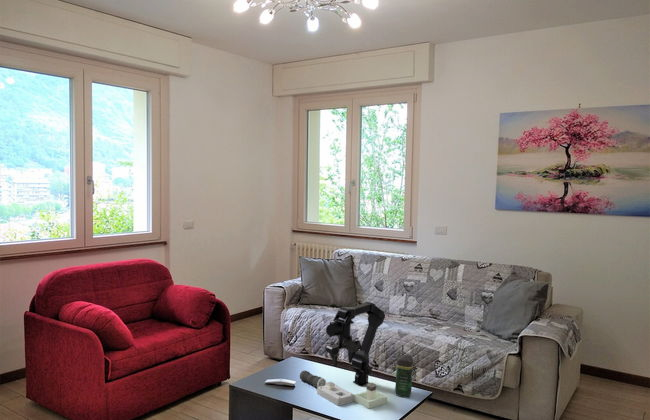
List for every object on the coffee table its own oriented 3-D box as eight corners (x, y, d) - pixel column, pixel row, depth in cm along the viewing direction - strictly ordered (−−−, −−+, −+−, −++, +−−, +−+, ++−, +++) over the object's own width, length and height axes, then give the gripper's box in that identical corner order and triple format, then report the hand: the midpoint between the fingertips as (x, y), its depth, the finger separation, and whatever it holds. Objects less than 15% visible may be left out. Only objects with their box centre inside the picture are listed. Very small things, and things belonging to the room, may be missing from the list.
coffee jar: (410, 398, 244) (412, 360, 243) (393, 396, 246) (395, 358, 246) (412, 391, 253) (414, 354, 252) (396, 389, 255) (398, 352, 255)
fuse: (330, 392, 246) (331, 381, 246) (334, 394, 244) (335, 383, 244) (325, 394, 245) (326, 382, 244) (329, 396, 242) (330, 384, 242)
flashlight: (298, 380, 260) (298, 370, 260) (306, 378, 264) (307, 368, 264) (317, 390, 249) (318, 379, 249) (325, 388, 252) (326, 377, 252)
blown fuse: (370, 398, 240) (371, 382, 239) (375, 401, 237) (376, 384, 237) (366, 400, 238) (367, 383, 238) (370, 402, 235) (371, 385, 235)
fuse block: (333, 389, 251) (333, 382, 250) (354, 400, 238) (354, 393, 238) (316, 393, 244) (317, 386, 244) (337, 405, 232) (337, 398, 232)
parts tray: (372, 395, 245) (373, 389, 245) (387, 403, 237) (387, 396, 237) (354, 400, 238) (354, 394, 238) (368, 408, 230) (368, 402, 230)
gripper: (340, 340, 237) (338, 372, 237) (369, 334, 248) (367, 366, 249) (325, 334, 246) (324, 365, 246) (354, 329, 257) (353, 359, 258)
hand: (342, 364), depth 250 cm, fingers open, 9 cm apart
